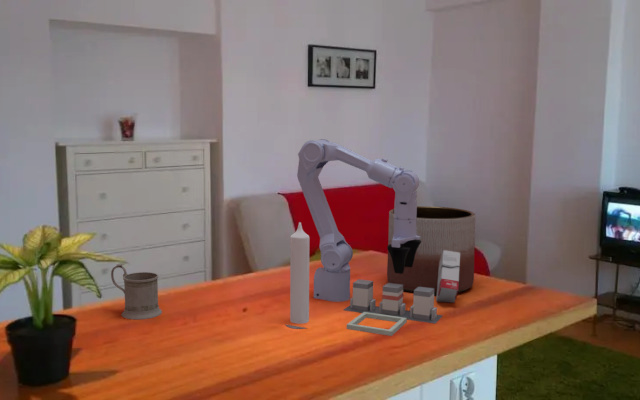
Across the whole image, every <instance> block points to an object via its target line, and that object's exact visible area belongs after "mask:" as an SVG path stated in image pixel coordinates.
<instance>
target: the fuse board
mask: <svg viewBox="0 0 640 400" xmlns="http://www.w3.org/2000/svg"><path fill="white" fill-rule="evenodd" d="M376 304H377V302H376V298H373V300H371V301H370V310H369V311H367V312H369V313H376V314H382V300H381V301H380V302H379V306H377V305H376ZM406 305H407V304H406V303H405V302H403V304H402V305H400V314H399V315H398V316H396V317H403V318H407V321H415V322H421V323H428V324H437V323H438V321H440V319H441V318H443V316H444V315H443V314H438V313H437V312H438V307H435V306H434V308H433V309H432V316H431V319H430V320H429V321H428V320H421V319H415V318H413V304H412V305H411V306H410V308H409V310H406V309H407V308H406V307H407V306H406ZM343 311H346V312H353V313H359V314H362V313H363V312H366V311H359V310H353V296H352V297H350V299H349V305H348V306H347V307H346V308H343ZM383 315H387V314H383ZM389 316H394V315H389Z"/></svg>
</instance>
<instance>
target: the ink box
mask: <svg viewBox="0 0 640 400" xmlns="http://www.w3.org/2000/svg"><path fill="white" fill-rule="evenodd" d="M459 267H460V253H459V252H453V251H446V250H443V251H442V254H441V258H440V262H439V270H438V284H437V295H435V296H436V298H435V301H436V302H440V303H453V304H454V303H455V302H456V298H457V295H458V287H459Z"/></svg>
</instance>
